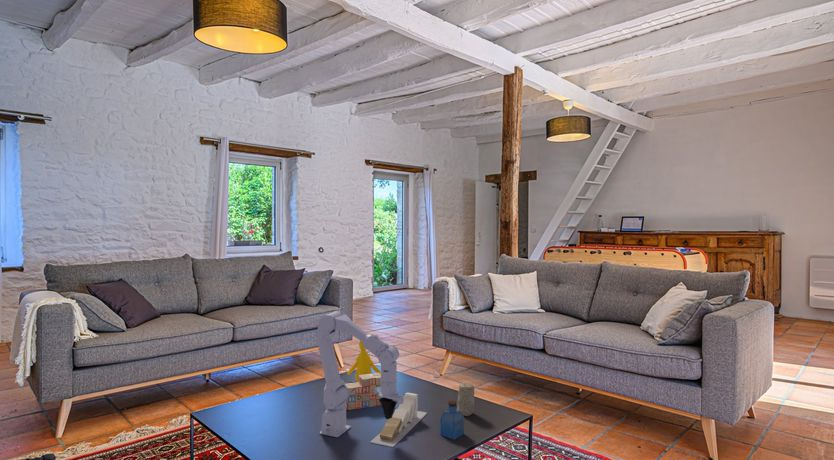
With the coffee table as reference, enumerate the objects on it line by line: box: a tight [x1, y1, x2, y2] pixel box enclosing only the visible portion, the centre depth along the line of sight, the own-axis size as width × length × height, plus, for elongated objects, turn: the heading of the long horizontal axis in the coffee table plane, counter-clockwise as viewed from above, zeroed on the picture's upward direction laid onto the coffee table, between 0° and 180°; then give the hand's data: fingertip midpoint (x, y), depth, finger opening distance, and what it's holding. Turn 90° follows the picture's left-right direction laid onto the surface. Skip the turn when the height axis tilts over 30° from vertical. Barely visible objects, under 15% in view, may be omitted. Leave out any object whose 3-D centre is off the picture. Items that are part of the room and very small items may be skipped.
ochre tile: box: [379, 417, 402, 441], centre depth 175 cm, size 2×5×9 cm
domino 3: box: [397, 402, 413, 428], centre depth 184 cm, size 2×5×9 cm
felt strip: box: [369, 410, 428, 448], centre depth 182 cm, size 32×9×1 cm, turn 157°
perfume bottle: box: [439, 400, 465, 440], centre depth 176 cm, size 6×6×12 cm
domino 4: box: [392, 408, 408, 434], centre depth 180 cm, size 2×5×9 cm
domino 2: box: [402, 395, 416, 422], centre depth 188 cm, size 2×5×9 cm, turn 67°
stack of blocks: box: [345, 372, 382, 411], centre depth 204 cm, size 21×6×12 cm, turn 111°
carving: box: [456, 382, 475, 417], centre depth 195 cm, size 6×8×12 cm
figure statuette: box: [346, 340, 381, 382], centre depth 233 cm, size 18×8×22 cm, turn 85°
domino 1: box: [404, 392, 419, 418], centre depth 191 cm, size 2×5×9 cm, turn 67°
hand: (388, 418), depth 173 cm, fingers closed
